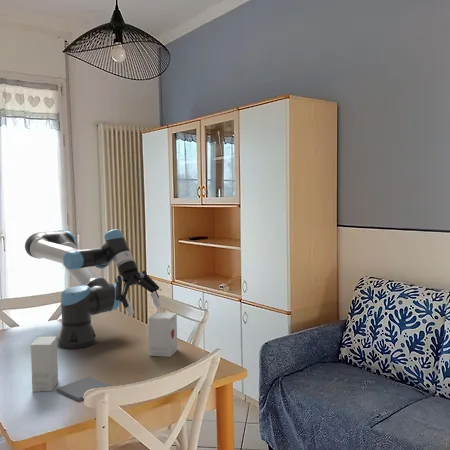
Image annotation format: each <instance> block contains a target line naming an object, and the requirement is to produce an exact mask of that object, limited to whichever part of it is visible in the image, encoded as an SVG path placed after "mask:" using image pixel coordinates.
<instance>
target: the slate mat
mask: <svg viewBox="0 0 450 450" xmlns="http://www.w3.org/2000/svg"><path fill="white" fill-rule="evenodd" d="M107 386H111V387H112V385H111V384H108V383H106V382H104V381H101V380H98V379H96V378H94V377H90V376H87V377H84V378H81V379H78V380H75V381H73V382H71V383H68V384H65V385H64V384H63V386H62V385H61V386H60V387H56V390H55V391H56V392H57V391H58V392H57V393H59V392H60V393H59V394H61V393H62V395H63V394H64V396H66V395H67V396H66V397H68V398H70V397H71V399H73V400H75V401H77V400H78V401H77V402H81V401H83V400H84V399H83V395H84V393H85V392H86V391H87V390H89V389H92V388H99V387H107ZM80 400H81V401H80Z"/></svg>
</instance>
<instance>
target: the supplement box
mask: <svg viewBox="0 0 450 450" xmlns="http://www.w3.org/2000/svg"><path fill="white" fill-rule="evenodd" d="M177 317H178V314H177V313H176V312H155V313H153V314H152V315H150V316H149V317H148V356H149V357H164V358H165V357H168V358H172V356H173V355H174V354H175V353H176V352H177V351H178V319H177Z"/></svg>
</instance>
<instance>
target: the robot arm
mask: <svg viewBox="0 0 450 450" xmlns="http://www.w3.org/2000/svg"><path fill="white" fill-rule="evenodd" d="M104 241H105V242H104V244H103V245H102V246H101V247H93V248H85V249H78V248H77V245H78V243H77V240H76V236H75V235H74V234H73V233H72V232H71V231H68V230H57V231H55V230H53V231H44V232H36V233H33V234H31V235H29V237H28V238H27V239H26V241H25V243H24V249H25V252H26V254H28V255H29V256H30V257H32V258H34V259H45V260H50V261H51V262H56V263H59V264H62V266H64V268H65V269H66V271H67V272H68V273H69V274H70V275H71V277H73V279H74V280H75V282H77V284H78V285H76V286H72V287H71V286H70V287H68V288H66V289H64V290H63V291H62V292H61V295H60V307H61V309H60V310H61V330H60V333H59V336H58V338H57V347H59V348H61V349H69V350H74V349H75V350H76V349H82V348H83V349H84V348H87V347H90V346H92V345H95V344H96V342H97V335H96V333H95V330H94V327H93V325H92V316H95V315H99V314H102V313H108V312H112V311H115V310H117V309H118V308H119V307H120V305H121V303H122V305H123V308H124V309H125V310H126V312H127V313H128V315H129V317H131V316H133V315H134V313H135V311H134V309H133V307H132V304H131V302H130V299H129V297H127V294H128V292H129V288H130V286H131V287H132V286H135V285H139V286H141V287H142V288H144V289H145V290H147V291H148V292H150V297H151V299H152V301H153V303H154V305H155V307H156V309H159V308H160V307H161V306H162V304H161V300H160V296H159V294H158V290H159V289H160V286H159V285H158V284H157V283H156V282H155V280H153V279H152V278H151V277H150V276H149V275H148V274H147V272H146V271H145V270H143V271H141V272H139V270H138V266H137V264H136V261H135V260H134V257H133V255H132V253H131V251H130V248H129V246H128V243H127V241H126V238H125V236H124V234H123V232H122V230H121V229H117V228H116V229H111V230H109V231H107V232H105V234H104ZM113 262H114V263H115V266H116V267H117V271H118V273H119V275H118V276H117V277H116V278H115V283H114V282H113V283H109V282H108V281H107V279H105V278H104V277H100V276H98V275H97V274H96V272H95V271H94V270H93V269H92V268H91V267H95V268H99V269H105V268H107V267H108V266H110V265H111V264H112V263H113ZM123 282H124V285H123Z"/></svg>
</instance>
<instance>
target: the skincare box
mask: <svg viewBox="0 0 450 450" xmlns="http://www.w3.org/2000/svg"><path fill="white" fill-rule="evenodd" d="M30 358H31V360H30V361H31V391H32V393H40V391H46V392H52V391H54V389H55V387H56V385H58V382H59V372H58V371H59V369H58V367H59V365H58V364H59V363H58V337H57V335H56V336H55V335H54V336H37V338H36V339H35V340H34V341H33V342H32V343H31V344H30Z"/></svg>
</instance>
